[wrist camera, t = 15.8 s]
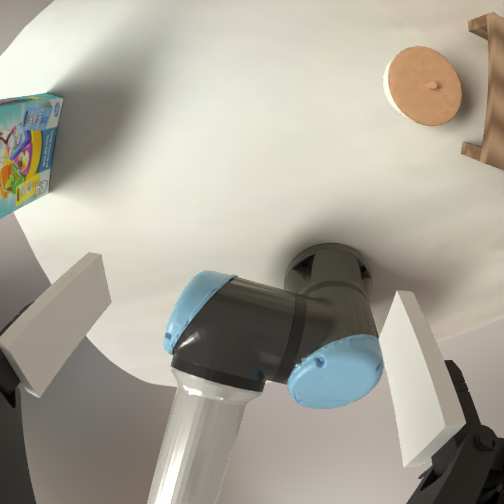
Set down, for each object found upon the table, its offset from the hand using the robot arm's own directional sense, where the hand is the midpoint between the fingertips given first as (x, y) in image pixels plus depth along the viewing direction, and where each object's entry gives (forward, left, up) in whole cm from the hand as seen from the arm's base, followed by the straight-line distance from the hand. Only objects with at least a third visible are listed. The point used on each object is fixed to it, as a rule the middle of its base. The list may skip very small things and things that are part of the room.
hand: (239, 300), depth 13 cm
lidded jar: (+14, -18, -35) cm, 42 cm away
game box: (+3, +46, -35) cm, 58 cm away
